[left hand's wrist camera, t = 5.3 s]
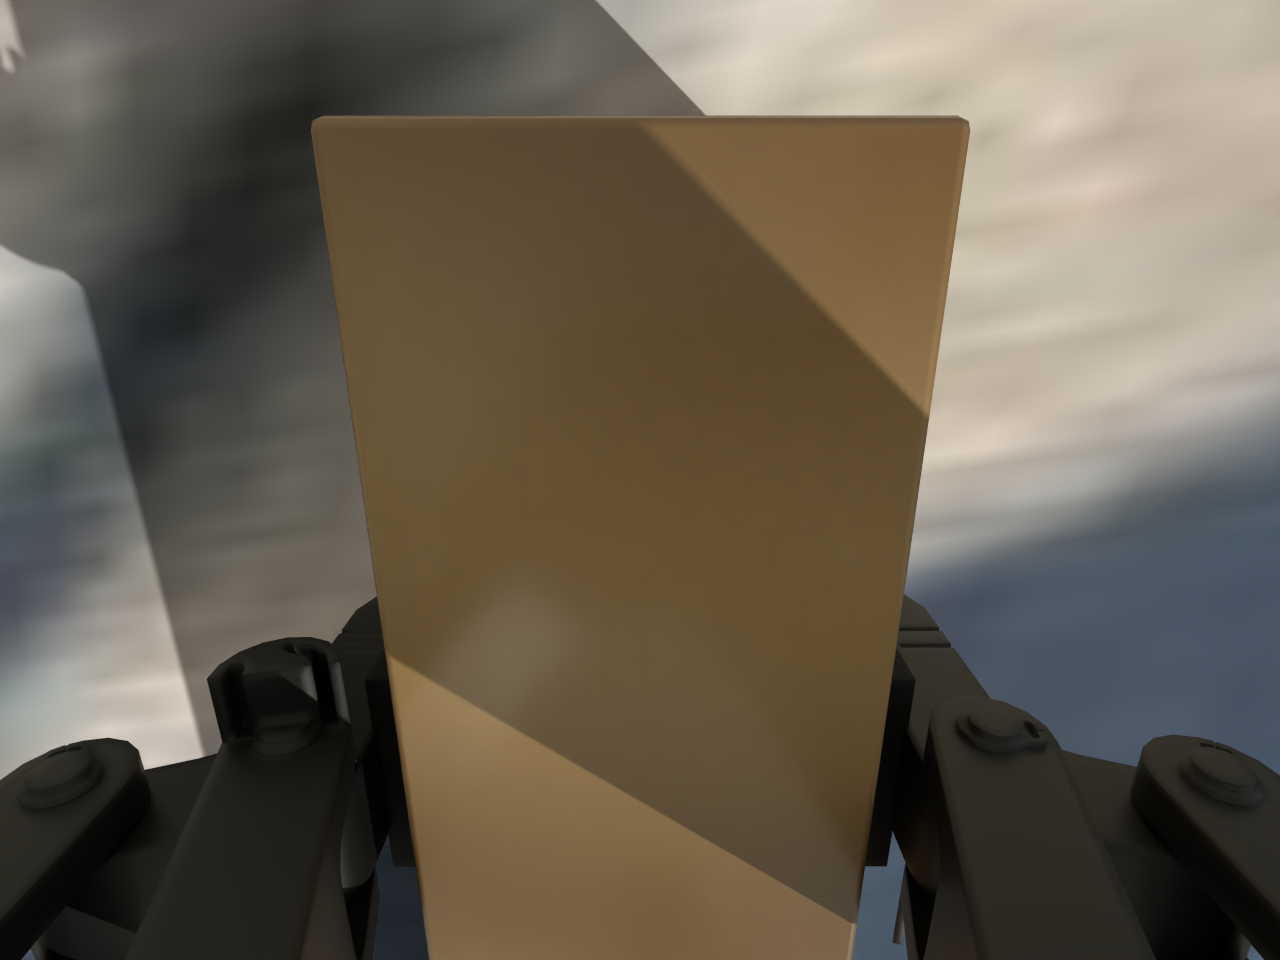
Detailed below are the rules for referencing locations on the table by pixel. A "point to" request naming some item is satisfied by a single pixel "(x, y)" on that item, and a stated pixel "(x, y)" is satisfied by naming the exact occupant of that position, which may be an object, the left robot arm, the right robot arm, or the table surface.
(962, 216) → the table surface
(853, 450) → the beam
